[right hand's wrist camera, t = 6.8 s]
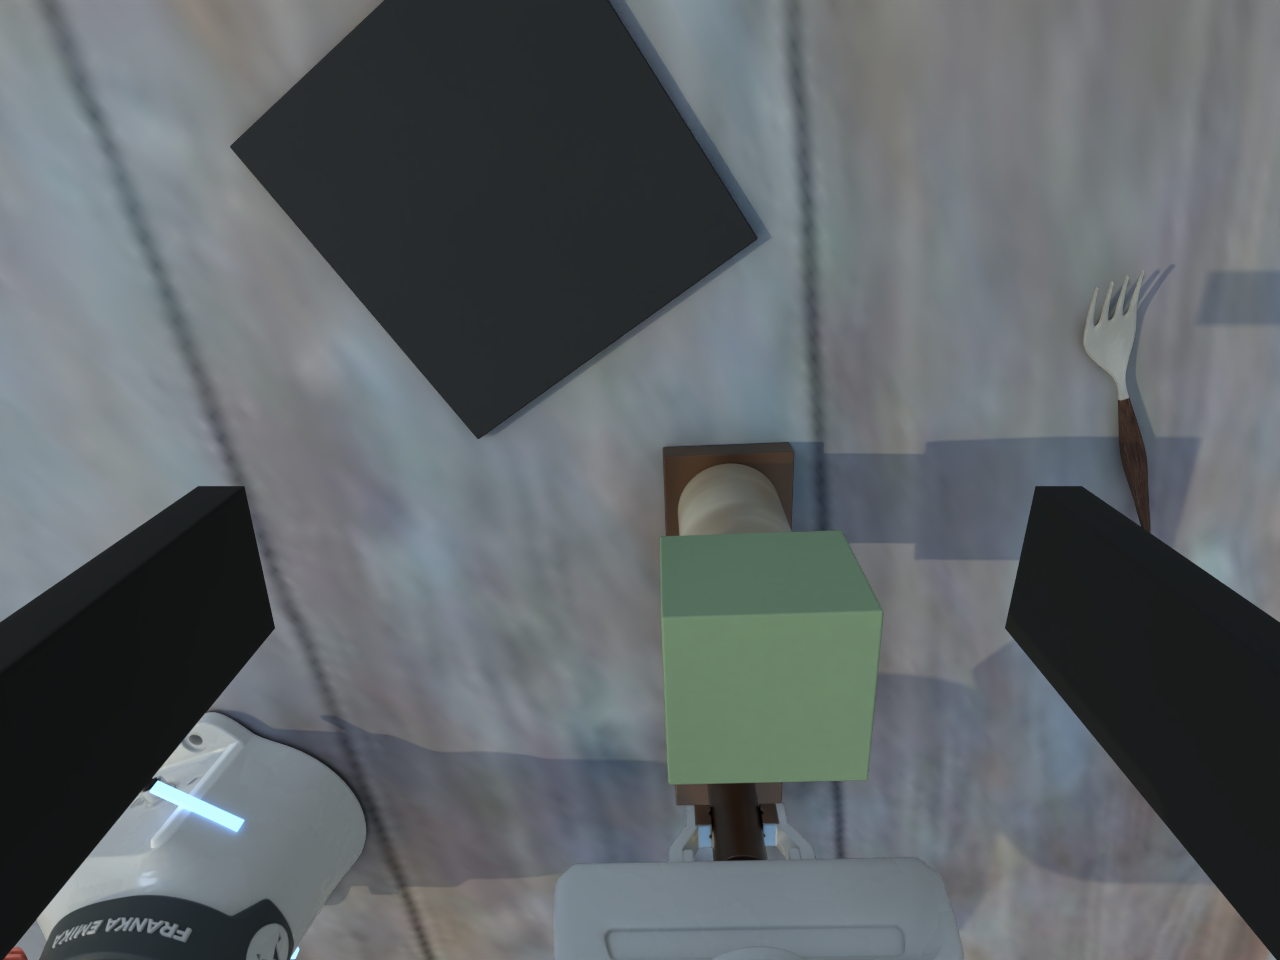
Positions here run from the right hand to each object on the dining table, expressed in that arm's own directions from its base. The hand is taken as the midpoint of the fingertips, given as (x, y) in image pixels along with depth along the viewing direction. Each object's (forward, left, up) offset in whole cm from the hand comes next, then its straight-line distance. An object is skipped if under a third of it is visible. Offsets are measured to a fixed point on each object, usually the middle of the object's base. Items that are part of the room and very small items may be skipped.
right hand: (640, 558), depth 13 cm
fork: (-17, +20, -27) cm, 38 cm away
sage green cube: (+3, +12, -16) cm, 20 cm away
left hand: (+13, +27, -22) cm, 38 cm away
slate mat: (+3, -8, -27) cm, 29 cm away
